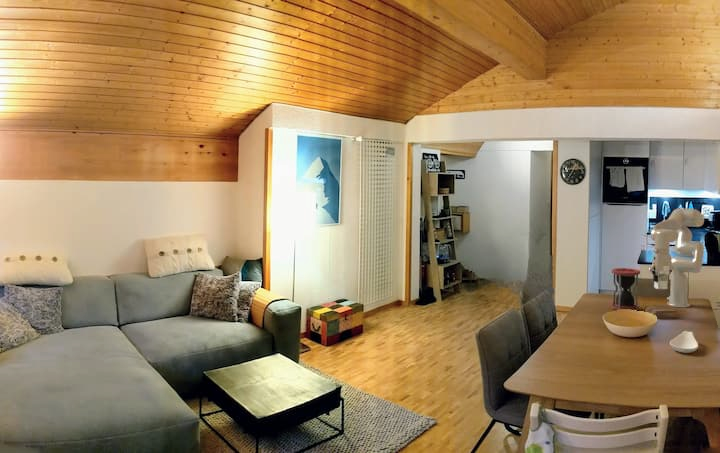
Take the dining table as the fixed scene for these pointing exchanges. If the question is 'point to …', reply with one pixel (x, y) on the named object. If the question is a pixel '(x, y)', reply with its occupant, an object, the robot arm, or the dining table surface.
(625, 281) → the hourglass
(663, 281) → the syrup box
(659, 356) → the dining table surface
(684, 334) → the spoon rest
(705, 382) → the dining table surface
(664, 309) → the walnut block
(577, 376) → the dining table surface
